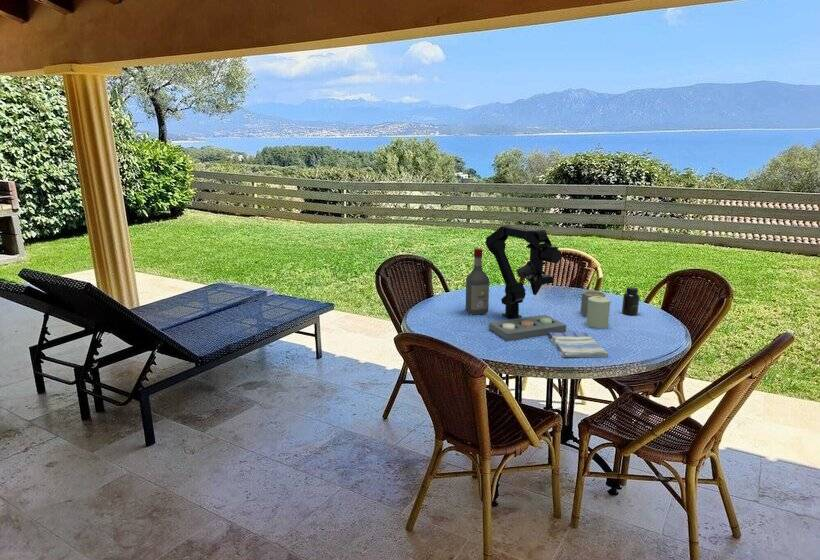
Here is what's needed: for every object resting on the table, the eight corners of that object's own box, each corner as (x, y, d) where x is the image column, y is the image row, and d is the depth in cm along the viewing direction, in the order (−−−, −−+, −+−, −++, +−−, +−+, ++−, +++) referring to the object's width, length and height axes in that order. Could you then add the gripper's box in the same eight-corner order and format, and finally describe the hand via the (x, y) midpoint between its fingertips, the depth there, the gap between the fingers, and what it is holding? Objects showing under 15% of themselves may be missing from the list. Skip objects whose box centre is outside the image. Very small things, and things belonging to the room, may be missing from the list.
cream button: (500, 330, 220) (500, 323, 219) (510, 329, 222) (510, 322, 221) (506, 334, 216) (506, 327, 215) (516, 333, 217) (517, 326, 216)
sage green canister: (607, 322, 231) (609, 295, 228) (609, 329, 223) (611, 301, 220) (585, 320, 234) (587, 294, 231) (586, 327, 225) (588, 300, 222)
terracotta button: (518, 327, 223) (519, 321, 222) (528, 326, 225) (529, 319, 224) (525, 331, 219) (525, 324, 218) (535, 330, 220) (535, 323, 219)
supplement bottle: (635, 316, 238) (637, 291, 235) (619, 313, 242) (622, 288, 239) (639, 312, 243) (642, 287, 240) (624, 310, 247) (626, 285, 244)
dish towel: (562, 359, 193) (563, 352, 192) (545, 337, 216) (546, 330, 215) (609, 359, 193) (610, 351, 192) (588, 336, 216) (588, 329, 215)
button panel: (488, 329, 224) (489, 322, 223) (545, 321, 233) (545, 314, 233) (507, 341, 210) (507, 334, 210) (565, 331, 220) (566, 325, 219)
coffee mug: (606, 317, 237) (607, 296, 234) (583, 317, 237) (585, 296, 235) (598, 308, 250) (599, 288, 247) (576, 308, 250) (578, 288, 248)
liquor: (490, 314, 244) (492, 250, 236) (472, 316, 241) (474, 252, 233) (480, 308, 252) (482, 246, 245) (463, 310, 249) (464, 248, 241)
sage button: (536, 325, 226) (537, 318, 225) (546, 323, 228) (547, 317, 227) (543, 328, 222) (544, 322, 221) (553, 327, 223) (554, 320, 222)
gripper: (508, 256, 229) (507, 291, 233) (531, 265, 212) (529, 302, 216) (531, 254, 233) (529, 288, 237) (555, 263, 216) (553, 300, 220)
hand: (534, 294), depth 227 cm, fingers closed
